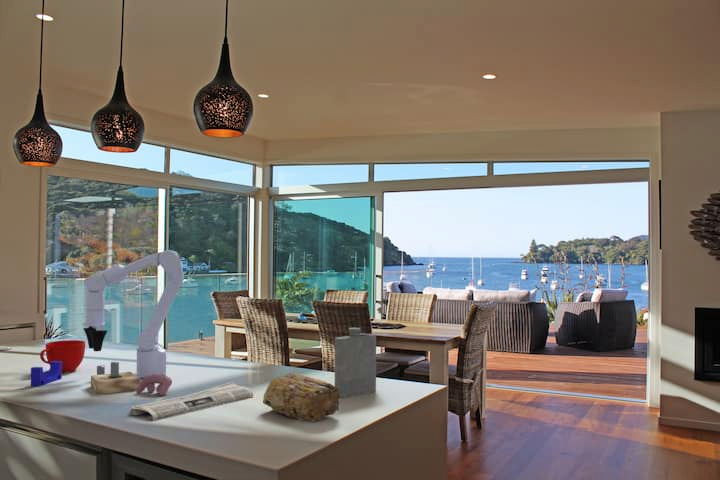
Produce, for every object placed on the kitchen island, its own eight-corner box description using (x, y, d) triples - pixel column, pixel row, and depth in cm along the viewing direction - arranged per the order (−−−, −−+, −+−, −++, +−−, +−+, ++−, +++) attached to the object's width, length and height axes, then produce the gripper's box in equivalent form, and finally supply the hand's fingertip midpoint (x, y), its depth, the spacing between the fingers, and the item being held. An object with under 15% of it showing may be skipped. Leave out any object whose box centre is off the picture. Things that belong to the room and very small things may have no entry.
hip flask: (339, 399, 183) (339, 330, 184) (330, 396, 186) (330, 329, 187) (378, 391, 194) (378, 326, 195) (368, 389, 197) (369, 325, 198)
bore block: (130, 382, 205) (130, 371, 205) (139, 389, 195) (139, 378, 195) (90, 386, 198) (91, 375, 198) (98, 394, 188) (99, 382, 188)
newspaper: (153, 422, 159) (153, 408, 159) (125, 414, 167) (126, 401, 167) (256, 397, 187) (256, 385, 187) (229, 391, 195) (229, 380, 195)
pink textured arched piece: (169, 399, 189) (176, 376, 192) (161, 395, 185) (168, 372, 188) (142, 396, 192) (148, 374, 195) (133, 392, 188) (140, 369, 191)
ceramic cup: (26, 374, 217) (27, 345, 217) (66, 366, 233) (66, 339, 233) (54, 377, 212) (55, 348, 212) (93, 369, 228) (93, 341, 228)
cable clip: (48, 378, 211) (49, 361, 211) (61, 379, 211) (61, 361, 211) (26, 386, 199) (26, 367, 199) (39, 386, 199) (39, 367, 199)
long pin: (118, 386, 198) (118, 361, 198) (119, 388, 196) (119, 362, 196) (110, 387, 197) (110, 362, 197) (111, 389, 195) (111, 363, 195)
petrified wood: (346, 415, 163) (341, 379, 162) (307, 436, 155) (301, 398, 153) (301, 400, 178) (296, 366, 176) (263, 417, 169) (257, 382, 168)
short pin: (104, 378, 211) (104, 365, 211) (105, 379, 209) (105, 366, 209) (96, 379, 210) (96, 365, 210) (97, 380, 208) (97, 367, 208)
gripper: (78, 308, 217) (78, 347, 217) (87, 311, 205) (86, 353, 205) (100, 307, 221) (99, 346, 221) (109, 310, 209) (109, 351, 209)
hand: (94, 349), depth 213 cm, fingers open, 7 cm apart
